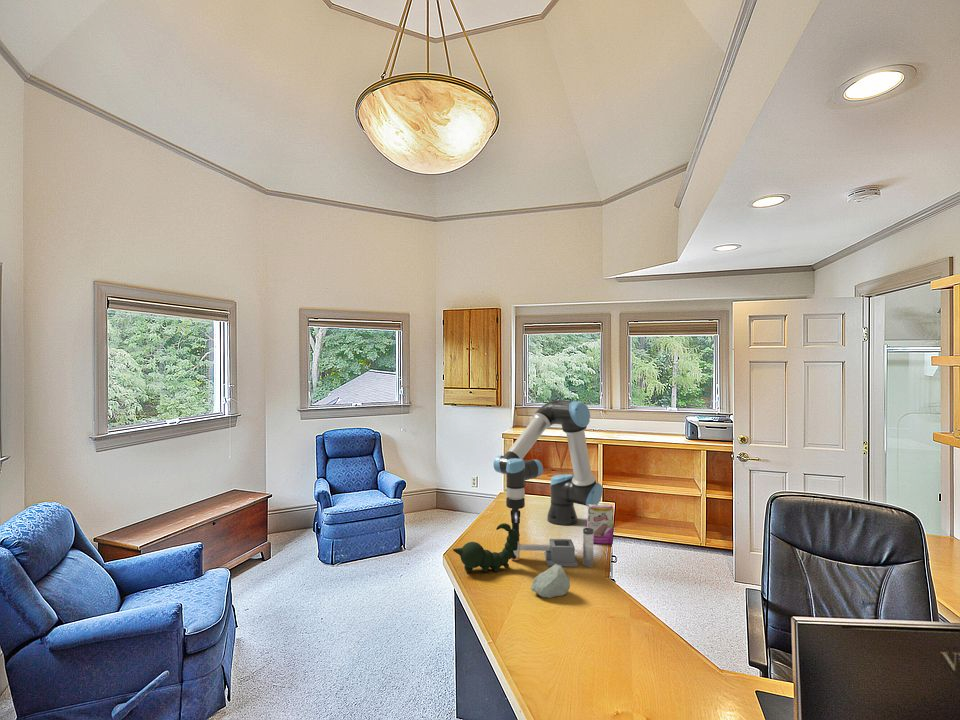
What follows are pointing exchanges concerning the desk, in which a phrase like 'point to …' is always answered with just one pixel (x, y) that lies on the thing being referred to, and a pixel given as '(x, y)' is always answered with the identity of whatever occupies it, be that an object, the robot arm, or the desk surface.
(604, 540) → the candy bar box
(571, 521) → the robot arm
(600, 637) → the desk surface
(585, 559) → the peg
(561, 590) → the decorative stone
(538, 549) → the pin
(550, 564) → the dock
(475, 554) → the toy figurine
